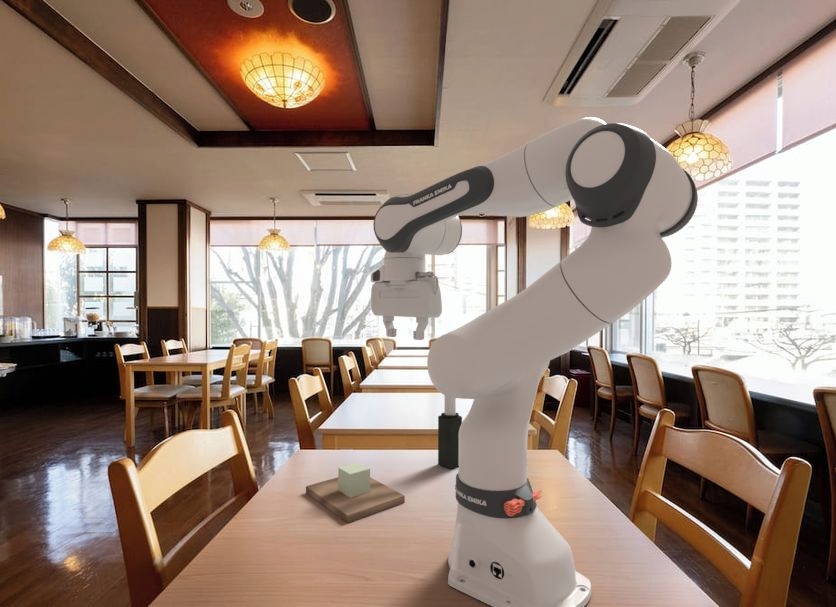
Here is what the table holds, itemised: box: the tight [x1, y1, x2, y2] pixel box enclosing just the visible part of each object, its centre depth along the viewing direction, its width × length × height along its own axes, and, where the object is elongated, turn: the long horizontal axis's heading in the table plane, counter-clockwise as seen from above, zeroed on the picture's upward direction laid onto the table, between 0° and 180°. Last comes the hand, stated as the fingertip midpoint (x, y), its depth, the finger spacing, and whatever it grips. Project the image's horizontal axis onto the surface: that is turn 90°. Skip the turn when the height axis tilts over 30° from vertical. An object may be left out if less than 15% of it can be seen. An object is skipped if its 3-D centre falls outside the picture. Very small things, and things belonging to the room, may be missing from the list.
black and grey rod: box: [437, 395, 463, 470], centre depth 119 cm, size 5×5×25 cm
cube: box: [337, 462, 371, 498], centre depth 99 cm, size 5×5×5 cm
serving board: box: [305, 476, 406, 524], centre depth 99 cm, size 18×14×2 cm
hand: (404, 338), depth 97 cm, fingers open, 8 cm apart
